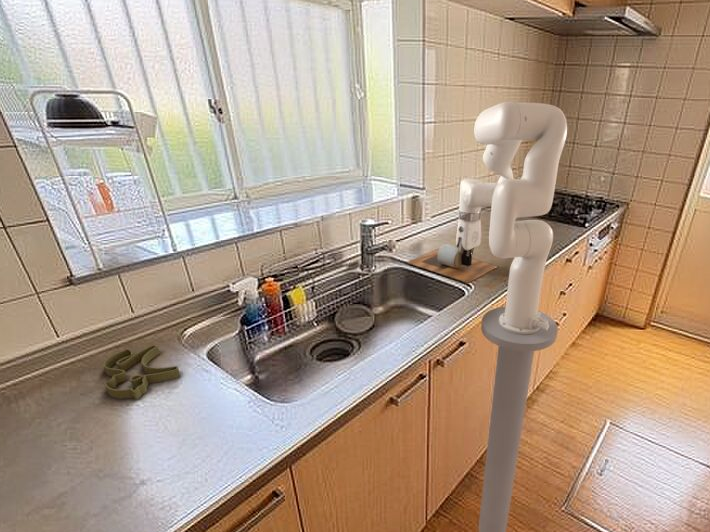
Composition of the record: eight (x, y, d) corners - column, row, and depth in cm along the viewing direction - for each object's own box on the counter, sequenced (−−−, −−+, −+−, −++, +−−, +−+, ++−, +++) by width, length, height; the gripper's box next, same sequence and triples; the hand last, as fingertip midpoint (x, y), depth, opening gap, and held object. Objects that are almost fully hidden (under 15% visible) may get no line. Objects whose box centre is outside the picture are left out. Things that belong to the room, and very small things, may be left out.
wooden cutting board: (497, 266, 159) (497, 266, 159) (468, 283, 144) (468, 282, 143) (438, 249, 172) (438, 249, 172) (406, 262, 157) (406, 262, 157)
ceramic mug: (454, 271, 151) (456, 251, 148) (436, 265, 155) (437, 245, 152) (470, 263, 160) (471, 244, 156) (452, 258, 163) (453, 239, 160)
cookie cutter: (185, 379, 90) (183, 372, 89) (118, 407, 81) (114, 399, 80) (155, 347, 100) (153, 340, 99) (91, 369, 91) (88, 361, 90)
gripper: (466, 222, 138) (463, 273, 147) (489, 214, 150) (485, 262, 158) (448, 217, 142) (446, 268, 150) (472, 210, 153) (469, 257, 161)
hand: (466, 264), depth 154 cm, fingers closed
